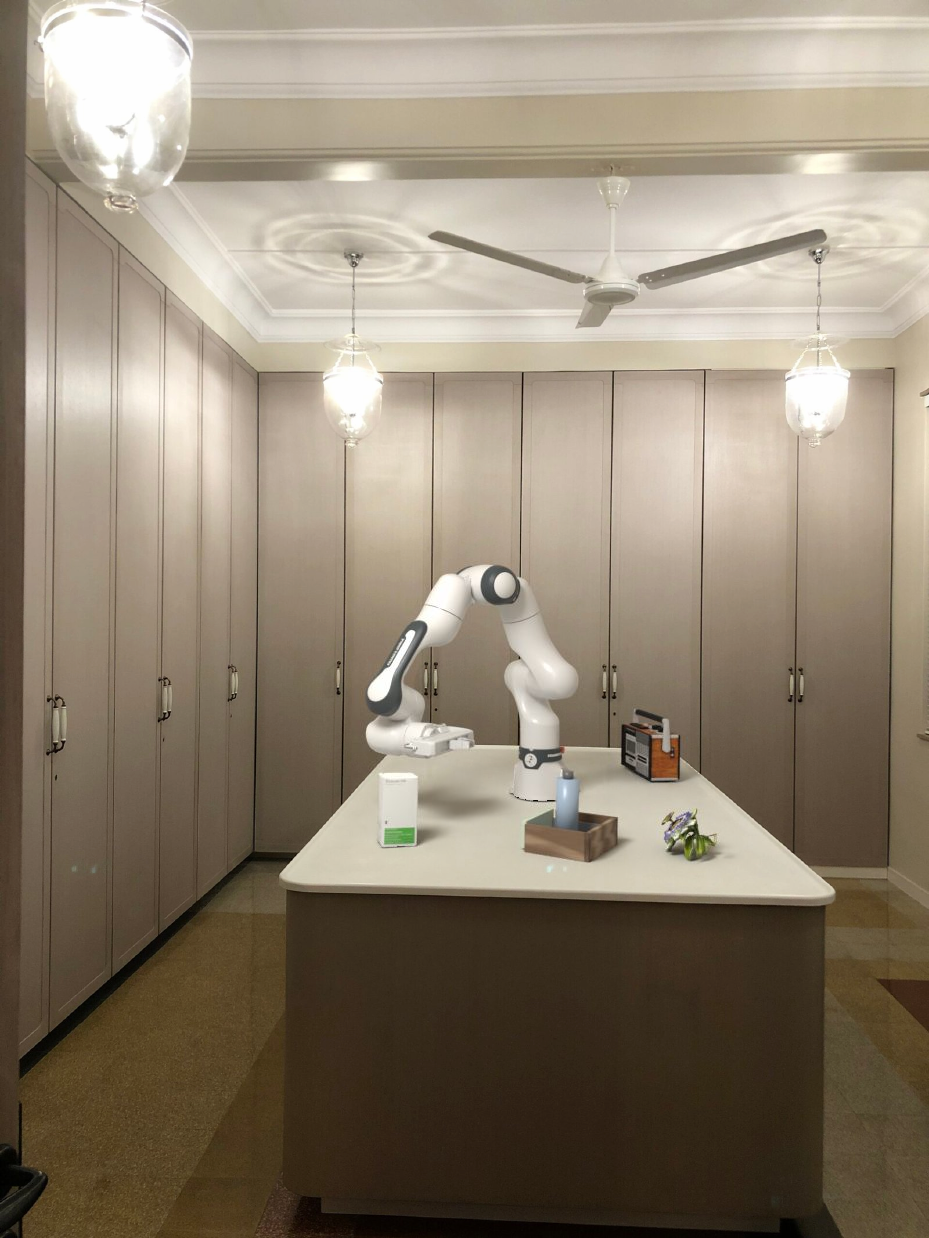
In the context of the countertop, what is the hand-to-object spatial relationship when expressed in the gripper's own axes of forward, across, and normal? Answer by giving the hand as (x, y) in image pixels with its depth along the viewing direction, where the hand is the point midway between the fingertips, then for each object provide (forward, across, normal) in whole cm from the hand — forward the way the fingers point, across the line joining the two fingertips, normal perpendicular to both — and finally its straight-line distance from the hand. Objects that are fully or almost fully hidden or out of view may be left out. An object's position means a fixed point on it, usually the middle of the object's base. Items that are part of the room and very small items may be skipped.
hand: (471, 744), depth 208 cm
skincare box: (-8, -21, +20) cm, 30 cm away
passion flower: (+51, +6, +21) cm, 55 cm away
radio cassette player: (+15, +90, +24) cm, 94 cm away
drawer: (+26, -4, +20) cm, 34 cm away
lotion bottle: (+26, -4, +19) cm, 33 cm away
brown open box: (+26, -4, +20) cm, 34 cm away
